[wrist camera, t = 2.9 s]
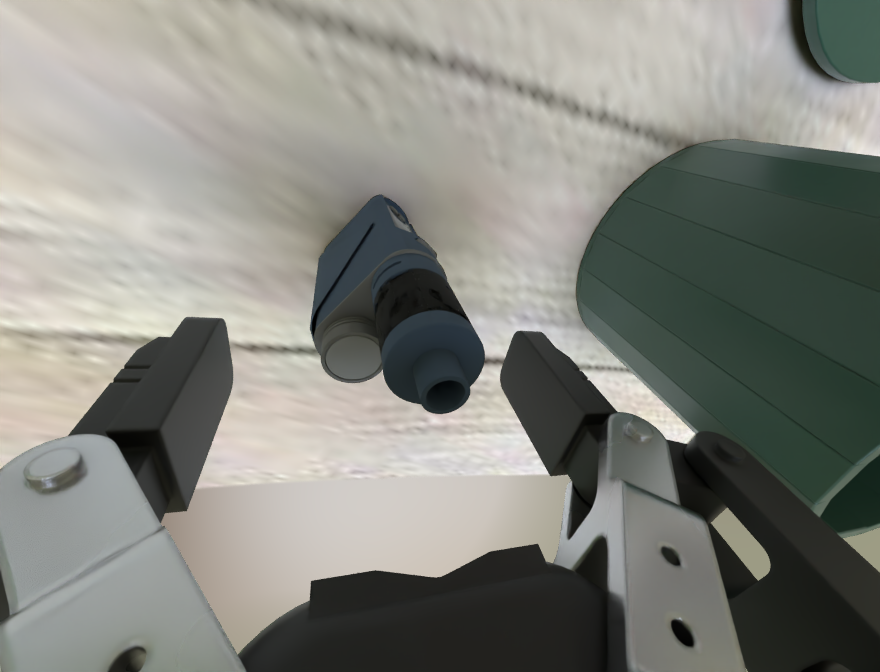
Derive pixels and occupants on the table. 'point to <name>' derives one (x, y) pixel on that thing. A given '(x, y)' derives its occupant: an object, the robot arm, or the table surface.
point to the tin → (755, 309)
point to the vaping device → (393, 313)
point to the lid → (845, 38)
